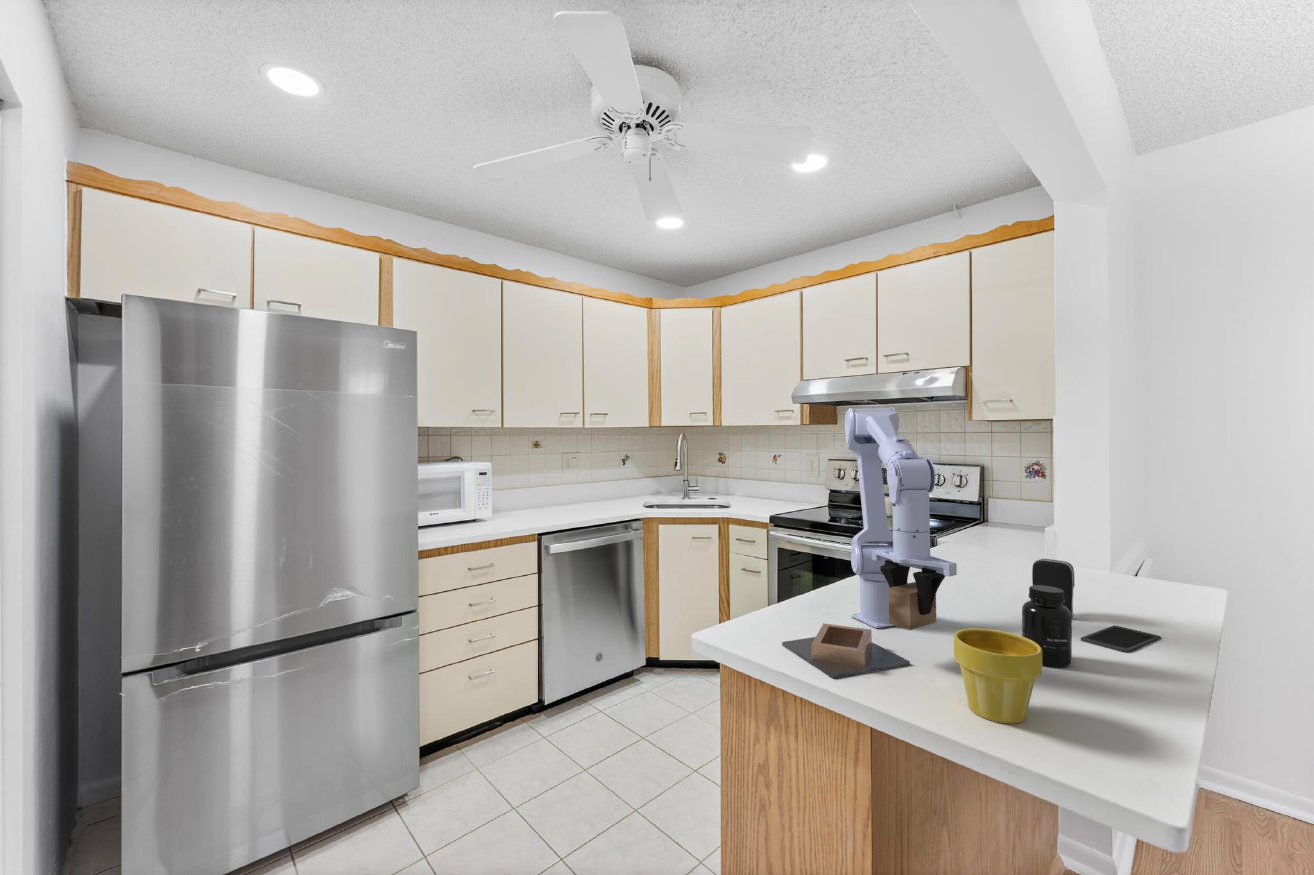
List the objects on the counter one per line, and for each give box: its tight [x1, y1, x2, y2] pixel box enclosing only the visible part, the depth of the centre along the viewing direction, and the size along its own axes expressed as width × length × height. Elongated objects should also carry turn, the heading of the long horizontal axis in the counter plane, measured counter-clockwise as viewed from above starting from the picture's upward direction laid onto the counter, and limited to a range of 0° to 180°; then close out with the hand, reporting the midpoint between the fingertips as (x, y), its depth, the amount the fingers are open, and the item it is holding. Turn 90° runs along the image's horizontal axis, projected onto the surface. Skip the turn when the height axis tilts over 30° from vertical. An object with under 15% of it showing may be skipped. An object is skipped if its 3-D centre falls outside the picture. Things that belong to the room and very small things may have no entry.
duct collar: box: [781, 623, 911, 680], centre depth 96 cm, size 15×15×3 cm
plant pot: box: [953, 627, 1043, 725], centre depth 75 cm, size 10×10×10 cm
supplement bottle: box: [1021, 584, 1073, 668], centre depth 92 cm, size 7×7×12 cm
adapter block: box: [888, 581, 937, 631], centre depth 93 cm, size 4×7×6 cm, turn 120°
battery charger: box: [1031, 558, 1075, 619], centre depth 115 cm, size 7×4×11 cm, turn 43°
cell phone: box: [1080, 624, 1162, 654], centre depth 101 cm, size 7×14×1 cm, turn 119°
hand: (912, 609), depth 93 cm, fingers closed on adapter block, 4 cm apart
